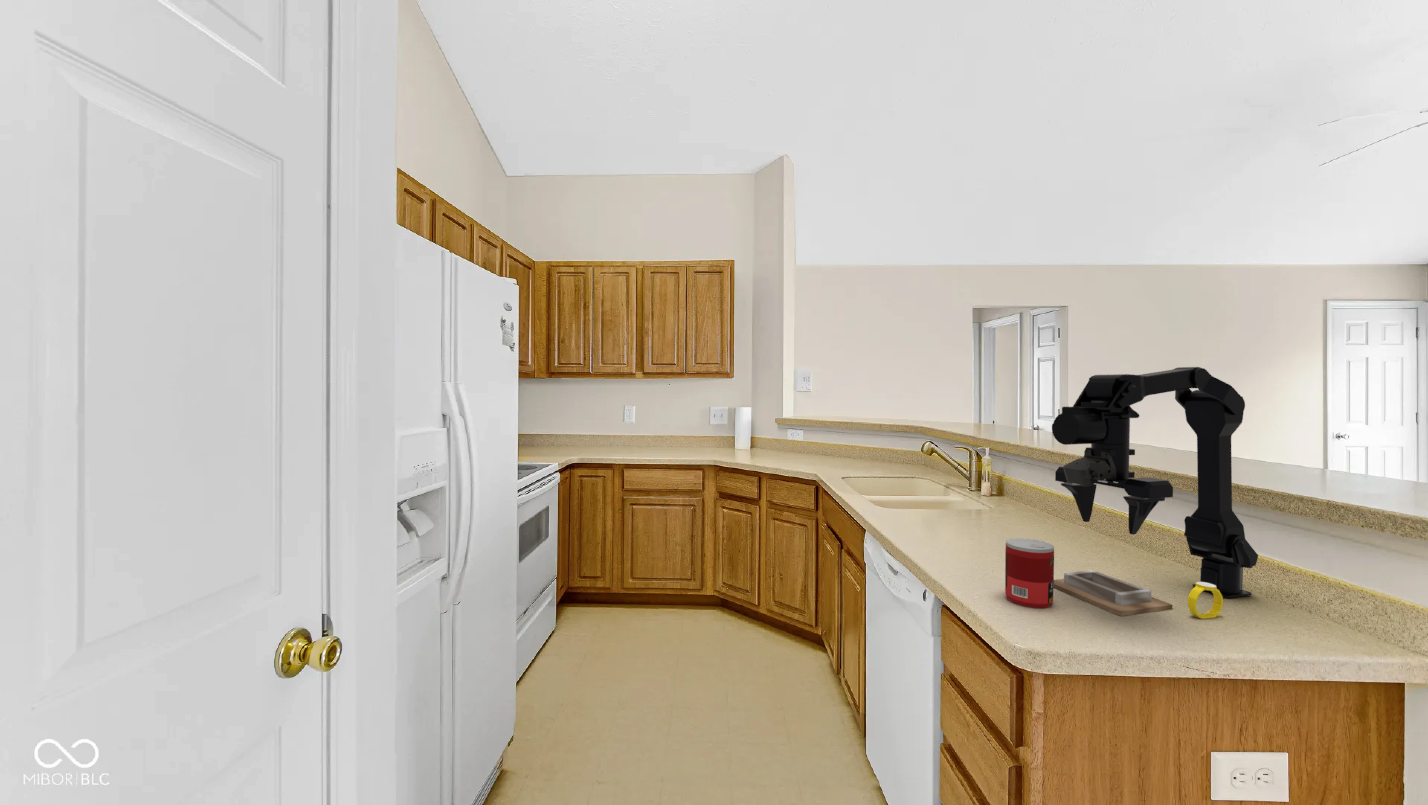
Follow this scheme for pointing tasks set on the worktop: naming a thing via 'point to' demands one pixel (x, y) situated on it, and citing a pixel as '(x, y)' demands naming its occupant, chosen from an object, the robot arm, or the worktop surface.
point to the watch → (1195, 594)
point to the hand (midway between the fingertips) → (1108, 527)
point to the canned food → (1029, 572)
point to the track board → (1110, 593)
